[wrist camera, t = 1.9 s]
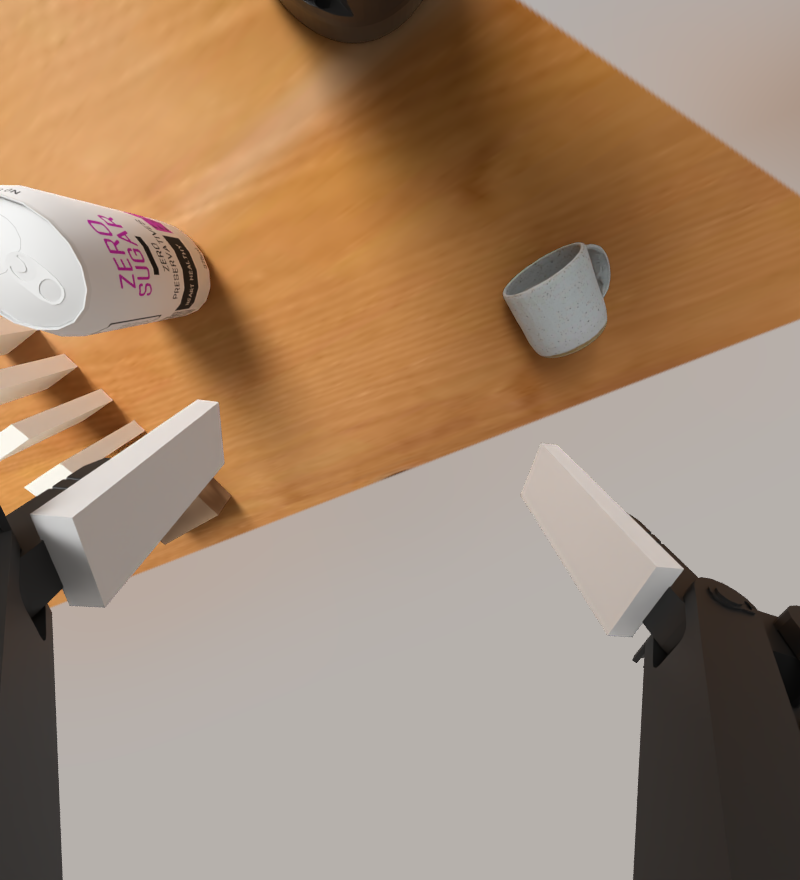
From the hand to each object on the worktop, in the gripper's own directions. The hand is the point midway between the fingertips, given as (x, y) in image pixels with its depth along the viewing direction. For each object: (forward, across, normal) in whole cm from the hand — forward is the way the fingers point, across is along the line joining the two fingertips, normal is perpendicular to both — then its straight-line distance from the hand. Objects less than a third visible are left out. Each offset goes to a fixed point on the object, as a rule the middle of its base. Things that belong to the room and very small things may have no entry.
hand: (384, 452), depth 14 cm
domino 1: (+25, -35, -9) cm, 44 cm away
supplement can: (+26, -22, +4) cm, 34 cm away
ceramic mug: (+26, +17, +8) cm, 32 cm away
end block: (+25, -22, -24) cm, 41 cm away
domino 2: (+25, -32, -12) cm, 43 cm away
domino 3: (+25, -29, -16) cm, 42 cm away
